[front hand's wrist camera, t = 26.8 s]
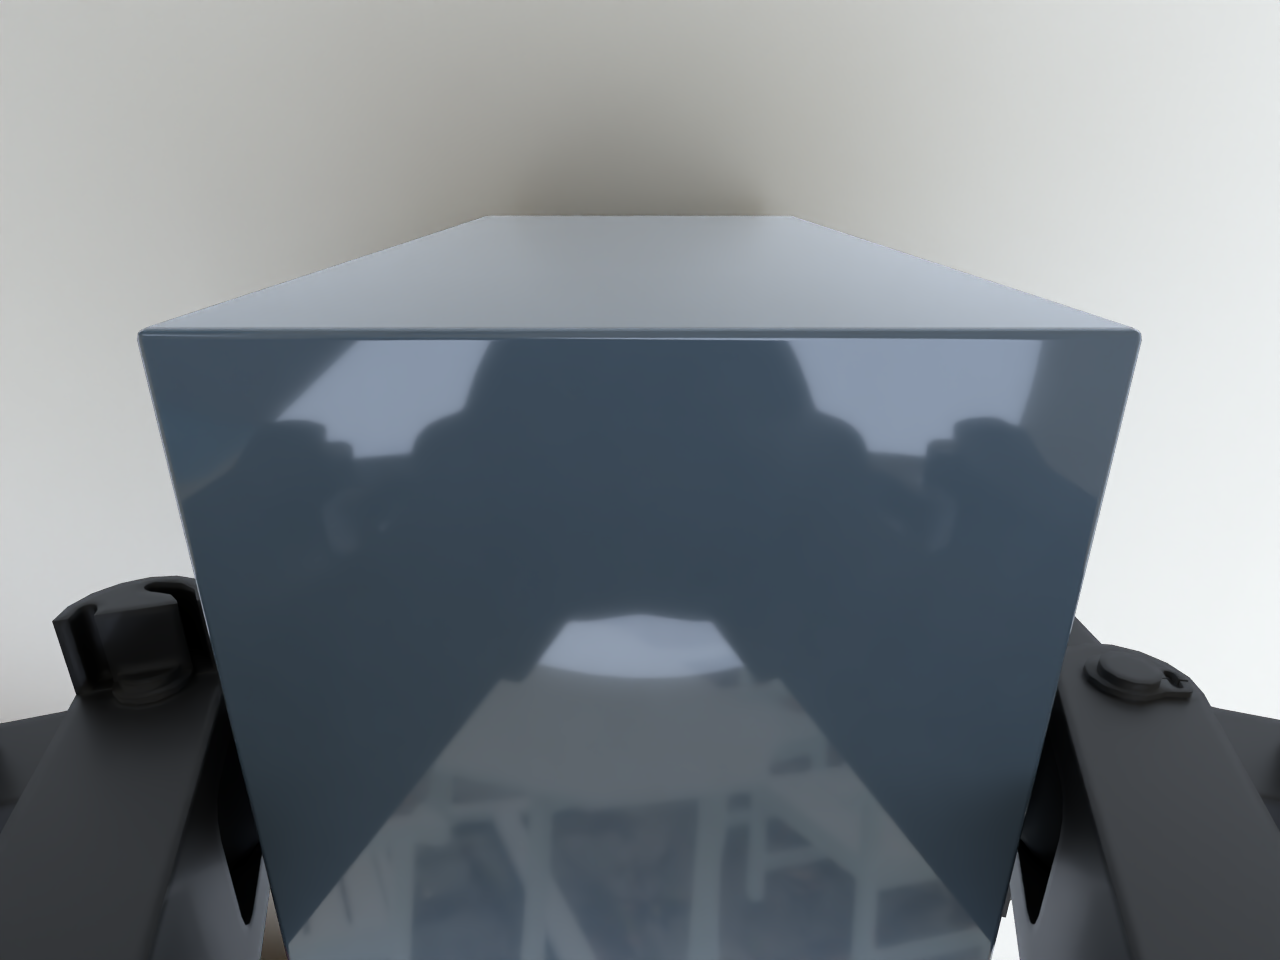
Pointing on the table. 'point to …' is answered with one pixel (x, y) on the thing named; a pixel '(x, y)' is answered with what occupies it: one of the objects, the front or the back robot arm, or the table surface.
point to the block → (639, 584)
